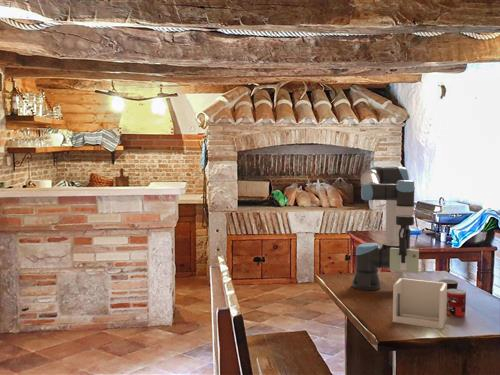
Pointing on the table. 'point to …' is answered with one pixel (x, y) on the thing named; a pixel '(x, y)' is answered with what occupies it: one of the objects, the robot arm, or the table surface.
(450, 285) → the coffee mug
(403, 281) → the cabinet
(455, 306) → the canned food
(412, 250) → the door
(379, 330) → the table surface
